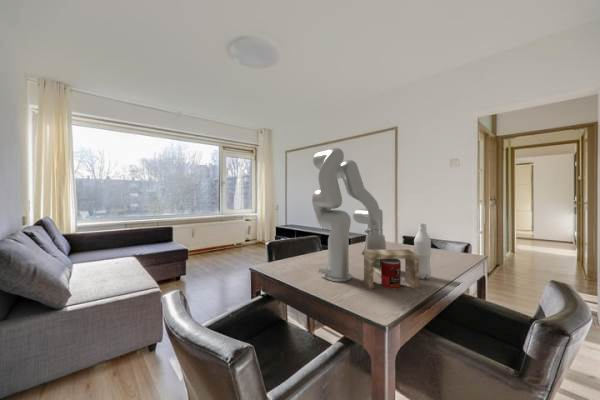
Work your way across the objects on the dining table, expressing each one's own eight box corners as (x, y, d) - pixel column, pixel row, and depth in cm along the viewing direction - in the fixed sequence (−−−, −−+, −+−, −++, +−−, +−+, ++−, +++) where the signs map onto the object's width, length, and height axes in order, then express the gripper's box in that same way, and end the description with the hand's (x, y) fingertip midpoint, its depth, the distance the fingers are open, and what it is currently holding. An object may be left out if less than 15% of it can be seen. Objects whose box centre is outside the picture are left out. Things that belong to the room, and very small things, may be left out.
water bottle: (433, 280, 111) (433, 225, 110) (416, 279, 112) (416, 224, 111) (428, 275, 118) (428, 223, 117) (412, 274, 119) (412, 222, 118)
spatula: (381, 280, 111) (381, 265, 111) (370, 267, 131) (370, 254, 131) (390, 280, 111) (390, 265, 111) (377, 267, 131) (377, 254, 131)
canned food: (391, 290, 100) (391, 263, 100) (377, 283, 107) (377, 258, 107) (404, 286, 104) (404, 260, 103) (389, 280, 111) (389, 256, 110)
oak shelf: (369, 288, 102) (369, 255, 101) (364, 280, 112) (363, 249, 111) (418, 288, 101) (418, 255, 101) (408, 280, 111) (408, 249, 111)
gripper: (360, 233, 125) (360, 269, 126) (393, 233, 125) (393, 269, 125) (357, 231, 133) (357, 265, 133) (388, 231, 132) (388, 265, 133)
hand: (375, 266), depth 129 cm, fingers closed on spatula, 4 cm apart
